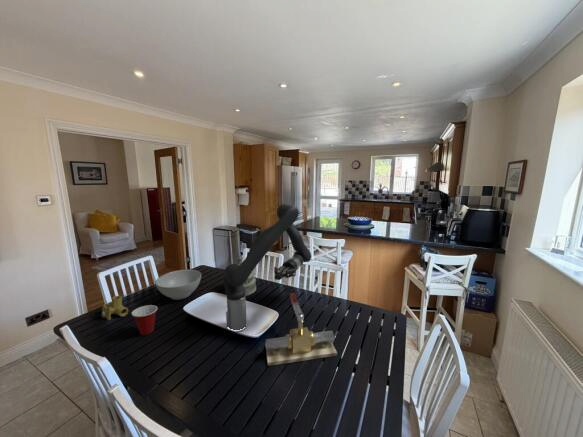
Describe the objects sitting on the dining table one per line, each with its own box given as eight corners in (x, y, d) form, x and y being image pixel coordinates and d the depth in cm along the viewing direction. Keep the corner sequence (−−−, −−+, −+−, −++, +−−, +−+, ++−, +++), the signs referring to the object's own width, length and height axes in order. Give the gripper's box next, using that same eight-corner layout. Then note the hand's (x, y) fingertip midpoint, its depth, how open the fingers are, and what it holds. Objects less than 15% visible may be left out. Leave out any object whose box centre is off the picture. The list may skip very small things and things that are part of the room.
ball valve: (115, 309, 137) (95, 316, 128) (116, 292, 136) (96, 298, 127) (129, 316, 132) (109, 323, 123) (130, 298, 131) (110, 305, 122)
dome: (233, 263, 140) (218, 254, 154) (235, 301, 144) (220, 289, 159) (261, 255, 153) (245, 248, 168) (262, 290, 158) (246, 280, 172)
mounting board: (267, 365, 95) (267, 360, 95) (265, 345, 107) (265, 339, 106) (336, 355, 101) (337, 349, 100) (327, 336, 112) (327, 331, 112)
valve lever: (304, 323, 100) (304, 315, 99) (297, 323, 100) (298, 316, 99) (294, 298, 120) (294, 292, 119) (289, 299, 119) (289, 293, 119)
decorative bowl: (188, 282, 170) (187, 266, 168) (210, 292, 155) (209, 275, 153) (149, 297, 149) (147, 279, 147) (170, 311, 134) (168, 292, 131)
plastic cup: (164, 326, 120) (162, 305, 118) (147, 340, 110) (144, 317, 108) (147, 323, 123) (145, 302, 121) (129, 336, 113) (125, 314, 110)
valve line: (267, 358, 97) (266, 331, 95) (265, 346, 104) (265, 320, 102) (334, 348, 103) (335, 322, 101) (329, 337, 110) (330, 313, 107)
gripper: (280, 257, 130) (264, 268, 115) (302, 261, 125) (289, 273, 109) (280, 270, 131) (265, 282, 116) (302, 274, 126) (289, 288, 110)
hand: (276, 278), depth 113 cm, fingers closed
